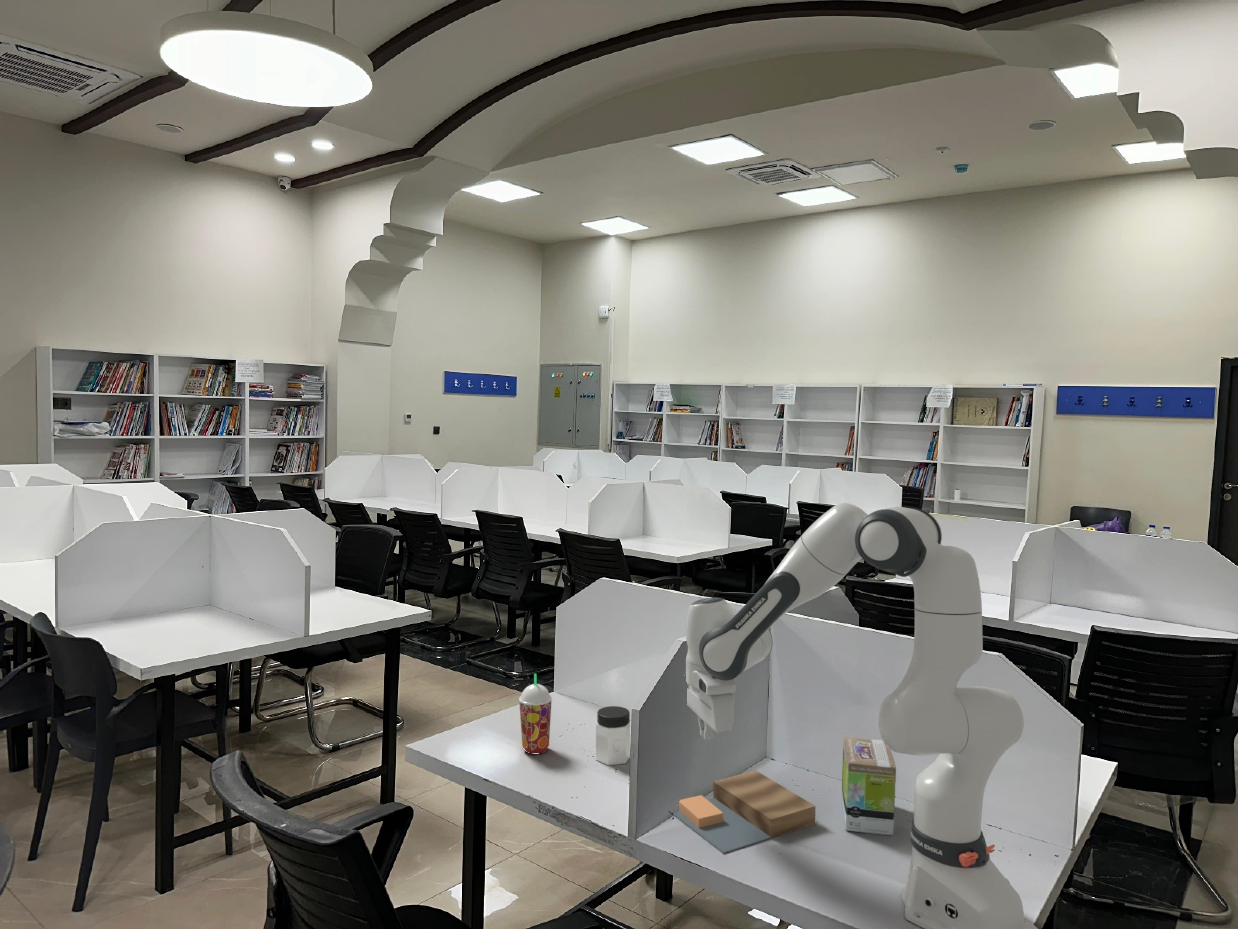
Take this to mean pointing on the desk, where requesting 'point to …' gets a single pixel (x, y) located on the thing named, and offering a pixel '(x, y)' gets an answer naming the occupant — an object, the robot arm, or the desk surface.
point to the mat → (727, 830)
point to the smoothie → (535, 717)
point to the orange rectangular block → (700, 811)
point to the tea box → (868, 786)
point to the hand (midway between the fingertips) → (706, 738)
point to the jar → (613, 735)
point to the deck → (764, 803)
